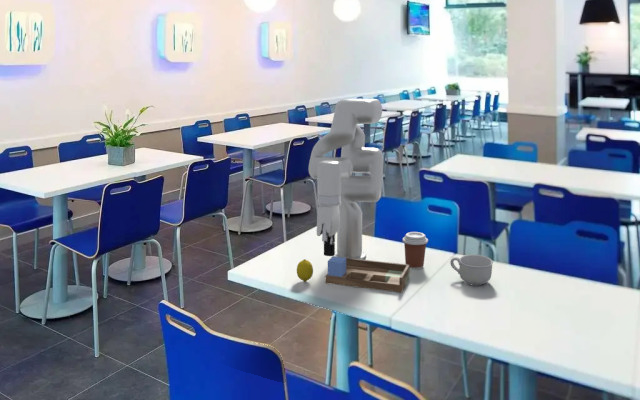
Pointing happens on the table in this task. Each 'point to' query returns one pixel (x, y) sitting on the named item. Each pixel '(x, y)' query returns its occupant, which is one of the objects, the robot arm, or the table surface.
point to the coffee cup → (415, 249)
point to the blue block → (336, 266)
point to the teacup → (473, 268)
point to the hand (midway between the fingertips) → (329, 255)
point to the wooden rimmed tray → (373, 275)
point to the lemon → (304, 270)
